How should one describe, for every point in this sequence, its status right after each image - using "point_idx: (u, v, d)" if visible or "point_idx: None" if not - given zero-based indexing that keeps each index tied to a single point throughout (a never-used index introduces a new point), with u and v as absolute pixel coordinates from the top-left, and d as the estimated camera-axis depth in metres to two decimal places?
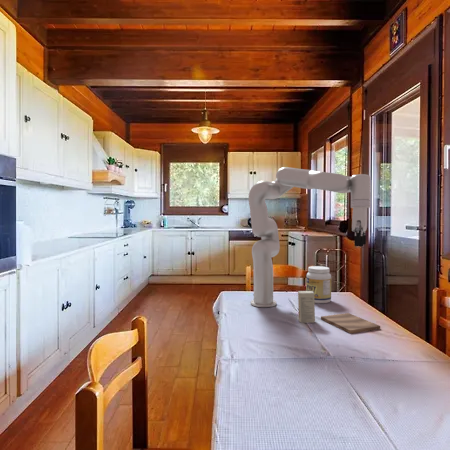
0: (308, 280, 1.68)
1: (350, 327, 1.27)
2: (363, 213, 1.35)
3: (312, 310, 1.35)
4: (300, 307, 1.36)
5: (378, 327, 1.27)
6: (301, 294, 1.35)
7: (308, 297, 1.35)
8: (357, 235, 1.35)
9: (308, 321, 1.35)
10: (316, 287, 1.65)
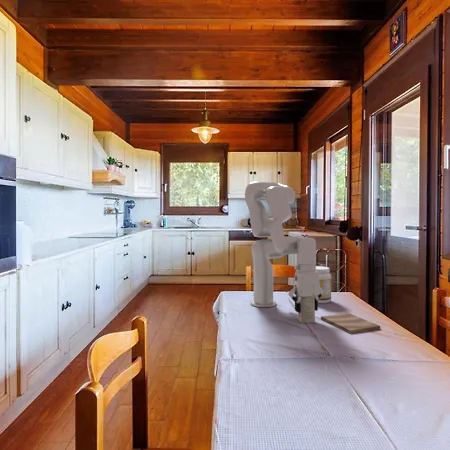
0: None
1: (350, 327, 1.27)
2: None
3: (312, 310, 1.35)
4: None
5: (378, 327, 1.27)
6: None
7: (308, 297, 1.35)
8: None
9: (308, 321, 1.35)
10: None
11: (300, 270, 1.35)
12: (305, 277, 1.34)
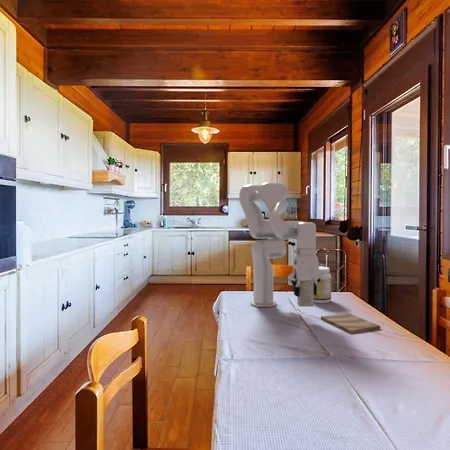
0: None
1: (350, 327, 1.27)
2: None
3: (310, 294, 1.36)
4: None
5: (378, 327, 1.27)
6: None
7: (307, 281, 1.35)
8: None
9: (307, 305, 1.36)
10: None
11: (300, 254, 1.35)
12: (304, 261, 1.34)
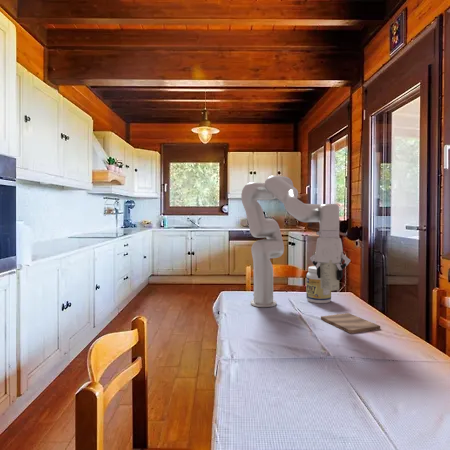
0: (308, 280, 1.68)
1: (350, 327, 1.27)
2: None
3: (329, 277, 1.32)
4: (320, 273, 1.36)
5: (378, 327, 1.27)
6: None
7: (326, 264, 1.33)
8: (342, 268, 1.31)
9: (326, 288, 1.33)
10: (316, 287, 1.64)
11: (319, 236, 1.36)
12: (321, 243, 1.34)
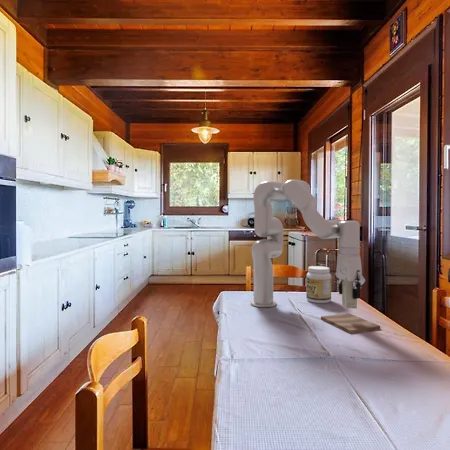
0: (308, 280, 1.68)
1: (350, 327, 1.27)
2: (360, 262, 1.29)
3: (345, 295, 1.32)
4: (342, 289, 1.36)
5: (378, 327, 1.27)
6: None
7: (344, 280, 1.33)
8: (358, 287, 1.28)
9: (344, 305, 1.33)
10: (316, 287, 1.65)
11: None
12: (340, 259, 1.34)
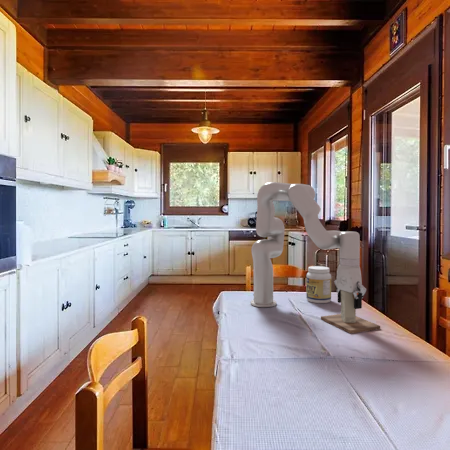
0: (308, 280, 1.68)
1: (350, 327, 1.27)
2: (360, 273, 1.30)
3: (343, 309, 1.32)
4: (341, 303, 1.37)
5: (378, 327, 1.27)
6: (341, 290, 1.36)
7: (342, 295, 1.34)
8: (359, 297, 1.27)
9: (342, 319, 1.34)
10: (316, 287, 1.64)
11: None
12: (340, 270, 1.34)
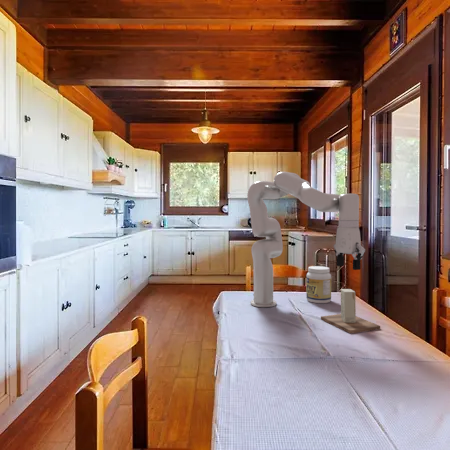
0: (308, 280, 1.68)
1: (350, 327, 1.27)
2: (359, 235, 1.30)
3: (343, 309, 1.32)
4: (341, 303, 1.37)
5: (378, 327, 1.27)
6: (341, 290, 1.36)
7: (342, 295, 1.34)
8: (358, 258, 1.28)
9: (342, 319, 1.34)
10: (316, 287, 1.65)
11: None
12: (339, 232, 1.34)
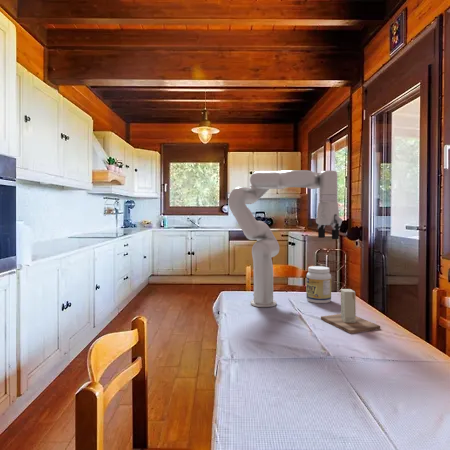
0: (308, 280, 1.68)
1: (350, 327, 1.27)
2: (337, 207, 1.43)
3: (343, 309, 1.32)
4: (341, 303, 1.37)
5: (378, 327, 1.27)
6: (341, 290, 1.36)
7: (342, 295, 1.34)
8: (336, 228, 1.41)
9: (342, 319, 1.34)
10: (316, 287, 1.64)
11: None
12: (320, 206, 1.48)
